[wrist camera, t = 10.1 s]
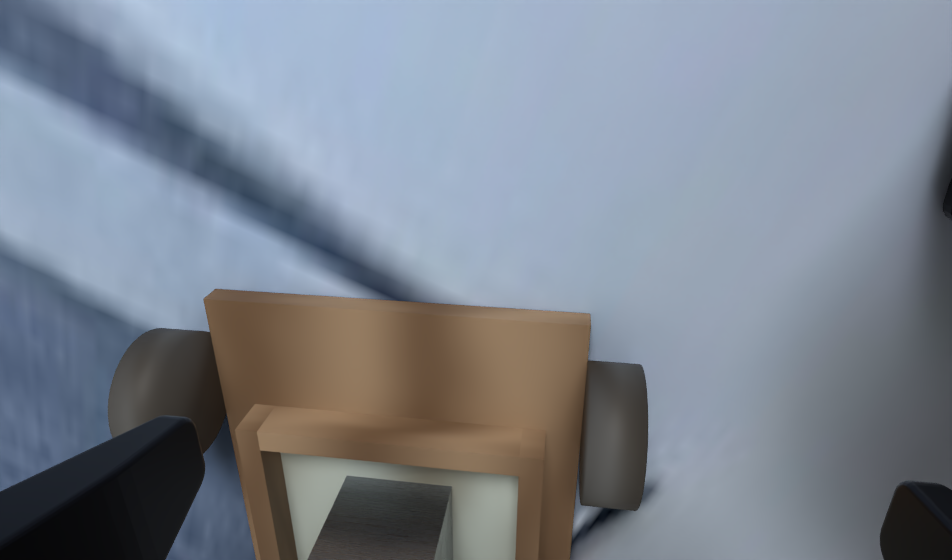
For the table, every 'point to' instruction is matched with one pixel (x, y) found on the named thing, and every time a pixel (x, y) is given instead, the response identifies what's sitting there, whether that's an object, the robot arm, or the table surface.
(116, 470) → the robot arm
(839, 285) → the table surface
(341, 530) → the block
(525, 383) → the chassis
